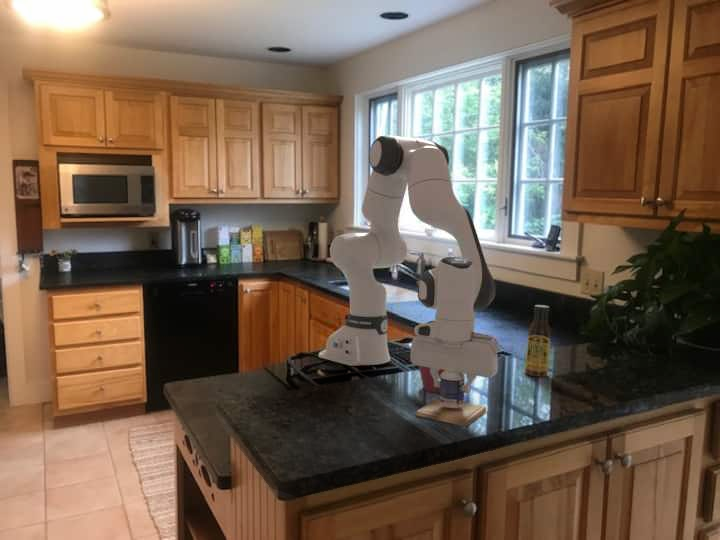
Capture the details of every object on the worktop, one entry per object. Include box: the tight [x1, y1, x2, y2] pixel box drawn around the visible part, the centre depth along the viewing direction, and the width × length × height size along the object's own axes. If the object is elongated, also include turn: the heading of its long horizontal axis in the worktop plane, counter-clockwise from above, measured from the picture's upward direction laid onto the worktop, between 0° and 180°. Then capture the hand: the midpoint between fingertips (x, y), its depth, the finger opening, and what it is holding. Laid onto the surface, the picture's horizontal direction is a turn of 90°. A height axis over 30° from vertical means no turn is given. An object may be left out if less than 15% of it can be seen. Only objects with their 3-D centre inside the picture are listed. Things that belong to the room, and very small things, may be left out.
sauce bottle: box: [524, 304, 552, 378], centre depth 170 cm, size 6×6×20 cm
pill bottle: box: [439, 364, 465, 408], centre depth 137 cm, size 5×5×10 cm
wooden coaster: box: [415, 397, 487, 427], centre depth 137 cm, size 12×12×1 cm
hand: (452, 389), depth 137 cm, fingers closed on pill bottle, 5 cm apart
